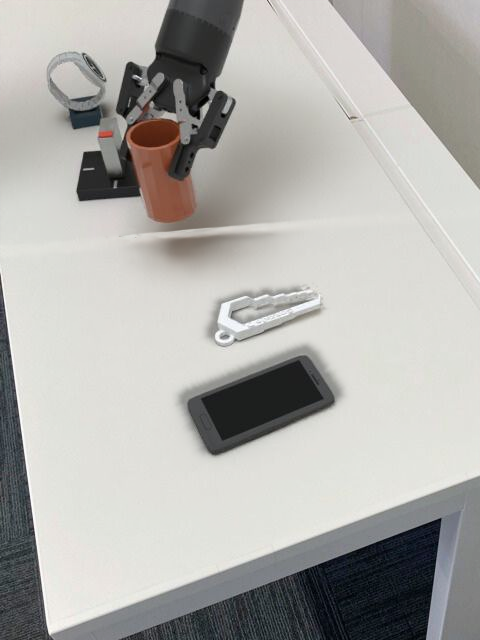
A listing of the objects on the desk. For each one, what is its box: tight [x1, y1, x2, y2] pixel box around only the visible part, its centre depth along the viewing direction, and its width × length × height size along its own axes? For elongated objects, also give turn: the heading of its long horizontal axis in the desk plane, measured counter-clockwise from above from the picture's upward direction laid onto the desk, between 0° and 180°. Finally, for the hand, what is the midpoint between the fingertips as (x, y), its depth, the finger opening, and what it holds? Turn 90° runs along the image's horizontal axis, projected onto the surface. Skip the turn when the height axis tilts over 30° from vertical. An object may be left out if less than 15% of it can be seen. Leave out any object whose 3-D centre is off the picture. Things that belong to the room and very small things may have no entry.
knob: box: [97, 117, 126, 178], centre depth 100 cm, size 5×2×6 cm, turn 8°
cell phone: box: [187, 354, 336, 455], centre depth 79 cm, size 7×14×1 cm, turn 118°
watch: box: [46, 51, 108, 131], centre depth 111 cm, size 6×8×11 cm
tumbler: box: [126, 117, 198, 224], centre depth 88 cm, size 6×6×10 cm
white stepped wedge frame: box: [214, 289, 322, 347], centre depth 88 cm, size 13×5×2 cm, turn 116°
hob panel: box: [75, 149, 141, 202], centre depth 104 cm, size 14×9×3 cm, turn 97°
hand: (151, 169), depth 86 cm, fingers closed on tumbler, 6 cm apart
